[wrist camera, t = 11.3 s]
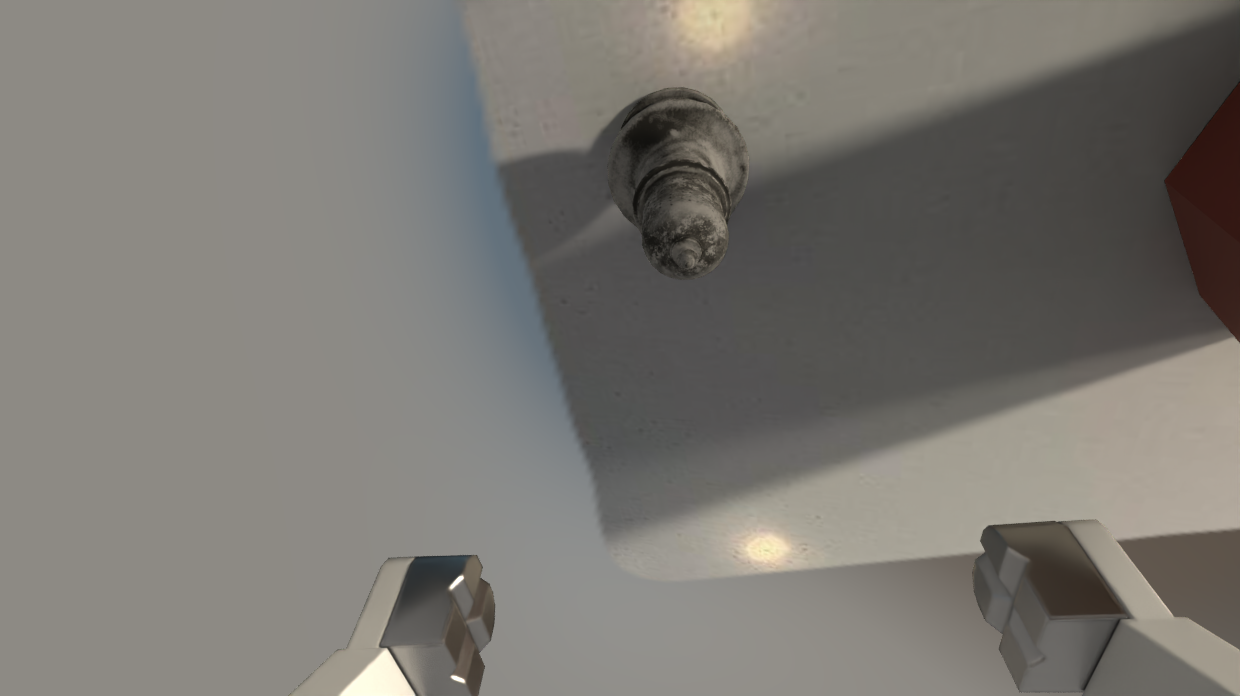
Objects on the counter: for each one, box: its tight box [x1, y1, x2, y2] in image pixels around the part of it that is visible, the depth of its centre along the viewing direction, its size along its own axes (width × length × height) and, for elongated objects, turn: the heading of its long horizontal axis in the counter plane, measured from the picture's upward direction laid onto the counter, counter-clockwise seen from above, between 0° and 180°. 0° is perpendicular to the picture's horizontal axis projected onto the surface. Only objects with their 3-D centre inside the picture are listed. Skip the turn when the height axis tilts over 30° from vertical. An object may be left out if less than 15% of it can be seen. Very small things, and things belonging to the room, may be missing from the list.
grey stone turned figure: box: [608, 88, 749, 280], centre depth 24 cm, size 6×6×12 cm
